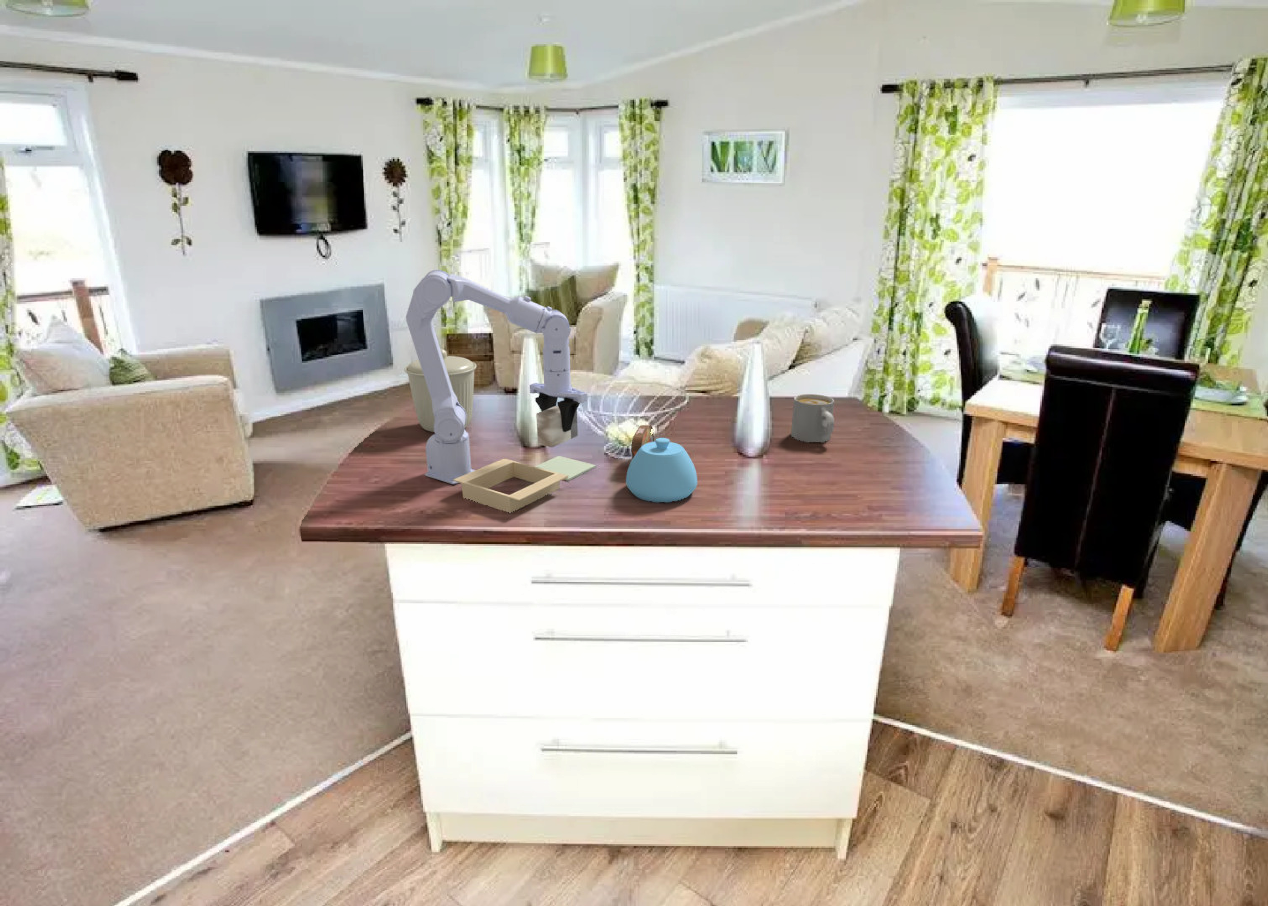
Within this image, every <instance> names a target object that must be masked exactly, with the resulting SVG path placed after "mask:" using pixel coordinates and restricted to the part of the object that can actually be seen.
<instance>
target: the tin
mask: <svg viewBox="0 0 1268 906" xmlns="http://www.w3.org/2000/svg"><path fill="white" fill-rule="evenodd" d="M651 429H653V430H654V428H653V425H652V424H645V425H644V424H643V425H642V424H641V425H639V426H638V428H637V429H636V432H635V433H634V435H633V436H632V440H631V444H630V445H631V447H630V448H631V449H630V450H631V451H630V452H631V460H632V459H633V458H634V456H635V455H636V453H637V452H638V450H639V449H640V448H641V447H642V446H643V445H644V444H646V443H650V442H655V440H654V439H655V437H654V433H653V434H652V435H651V433H650V432H651Z"/></svg>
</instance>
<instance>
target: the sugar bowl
mask: <svg viewBox="0 0 1268 906" xmlns="http://www.w3.org/2000/svg"><path fill="white" fill-rule="evenodd" d="M654 439H655V438H654ZM625 477H626V478H625V484H626V487H627V488H628V489H629V491H630V492H631V494H633V495H634V496H635V497H637V498H638V499H640V500H643V501H646V502H650V501H652V502H651V503H659V502H665V503H672V501H675V502H679V501H682V500H684V498H685V499H686V498H688V497H690V495H691V494H692V493H693V492H694V491H695V490H696V488H697V486H698V475H697V470H696V468H695V465H694V463H693V461H692V459H691V457H690V455H689V454H688V452H687V451H686V450H685V448H684V447H683V446H682V445H681V444H679V443H677V442H672V441H671V439H669V438H666V437H659V438H656V439H655V440H654V442H650V443H646V444H644V445H643V446H642V447H641V448H640V449H639V450H638V452H637V453H636V455H635V456H634V458H633V459H632V458H631V461H630V464H629V465H628V468H627V472H626V475H625ZM681 499H682V500H681ZM678 500H679V501H678Z"/></svg>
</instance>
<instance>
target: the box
mask: <svg viewBox="0 0 1268 906" xmlns="http://www.w3.org/2000/svg"><path fill="white" fill-rule="evenodd" d="M535 414H536V415H535V417H536V433H537V434H536V435H537V437H536V438H537V445H541V446H546V447H548V448H554V447H556V446H559V445H560V444H564V443H565V442H567V441H570V440H572V439H574V438H576V437H578V434H579V433H578V432H579V431H578V409H577V410H576V413H575V415H574V418H573V422H572V427H571V430H569V431H567V432H563V429H562V419H561V413H560V409H559V407H558V404H556V406H555V407H552V408H549V409H547V410H544V411H540V412H539V411H538V412H536V413H535Z"/></svg>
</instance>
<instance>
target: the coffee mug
mask: <svg viewBox="0 0 1268 906" xmlns="http://www.w3.org/2000/svg"><path fill="white" fill-rule="evenodd" d="M834 405H835V400H834V398H832V397H830V396H827V395H823V394H817V393H804V394H799V395H796V396H794V397H793V406H792V418H791V420H792V421H791V433H790V437H791V438H792V437H794V438H795V439H794V438H793V439H794V440H796V439H797V440H796V441H799V440H800V442H803V441H804V442H803V443H809V442H821V443H826V442H828V440H829V441H830V440H831V437H832V436H831V435H832V434H833V431H834V428H835V418H834V408H835V406H834ZM825 441H826V442H825Z"/></svg>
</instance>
